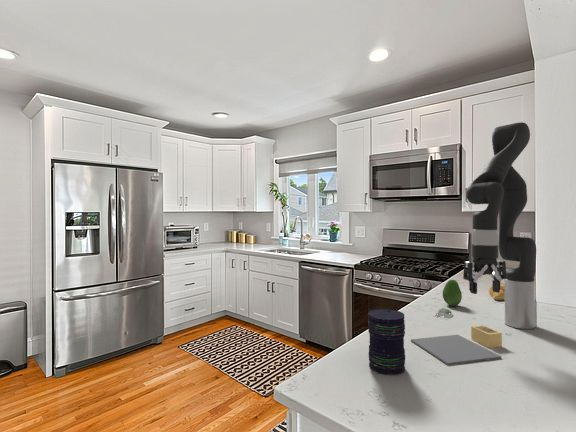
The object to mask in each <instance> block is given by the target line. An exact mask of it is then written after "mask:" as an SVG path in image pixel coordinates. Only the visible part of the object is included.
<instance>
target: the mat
mask: <svg viewBox="0 0 576 432" xmlns="http://www.w3.org/2000/svg"><path fill="white" fill-rule="evenodd" d="M410 342H412V343H413V344H414V345H416V346H418V347H420V349H422V350H424V351H425V352H427V353H428V354H429V355H432V356H433V357H434V358H435V359H438V360H439V361H441V362H442V363H443V364H445V365H447V366H452V365H459V364H468V363H475V362H477V363H478V362H484V361H493V360H501V359H502V356H501V355H500V354H497V353H495V352H493V351H491V350H489V348H487V347H485V346H483V345H479V343H478V344H477V342H476V343H475V341H471V340H469V339H468V338H465V336H464V337H463V336H461V335H460V334H459V335H458V334H451V335H450V334H449V335H440V336H432V337H422V338H421V337H420V338H413V339H410Z"/></svg>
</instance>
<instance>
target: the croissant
mask: <svg viewBox="0 0 576 432" xmlns="http://www.w3.org/2000/svg"><path fill="white" fill-rule="evenodd" d="M488 294H489V295H490V296H491V297H492V298H493V299H494V300H496V301H502V300H504V301H505V283H500V292H499V293H496V292H493V290H492V285H491V286H490V287H489V288H488Z"/></svg>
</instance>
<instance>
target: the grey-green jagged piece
mask: <svg viewBox="0 0 576 432" xmlns="http://www.w3.org/2000/svg"><path fill="white" fill-rule="evenodd" d="M449 313H451V314H449ZM435 314H436V315H435ZM435 314H434V315H435V316H434V317H436V318H437V319H438V318H441V317H443V316H444V319H447V320H448V319H449V320H450V319H451V318H454V314H452V310H450V309H448V308H440V309H438V311H437V313H435ZM437 314H438V315H437ZM440 316H441V317H440ZM436 318H435V319H436Z"/></svg>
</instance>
